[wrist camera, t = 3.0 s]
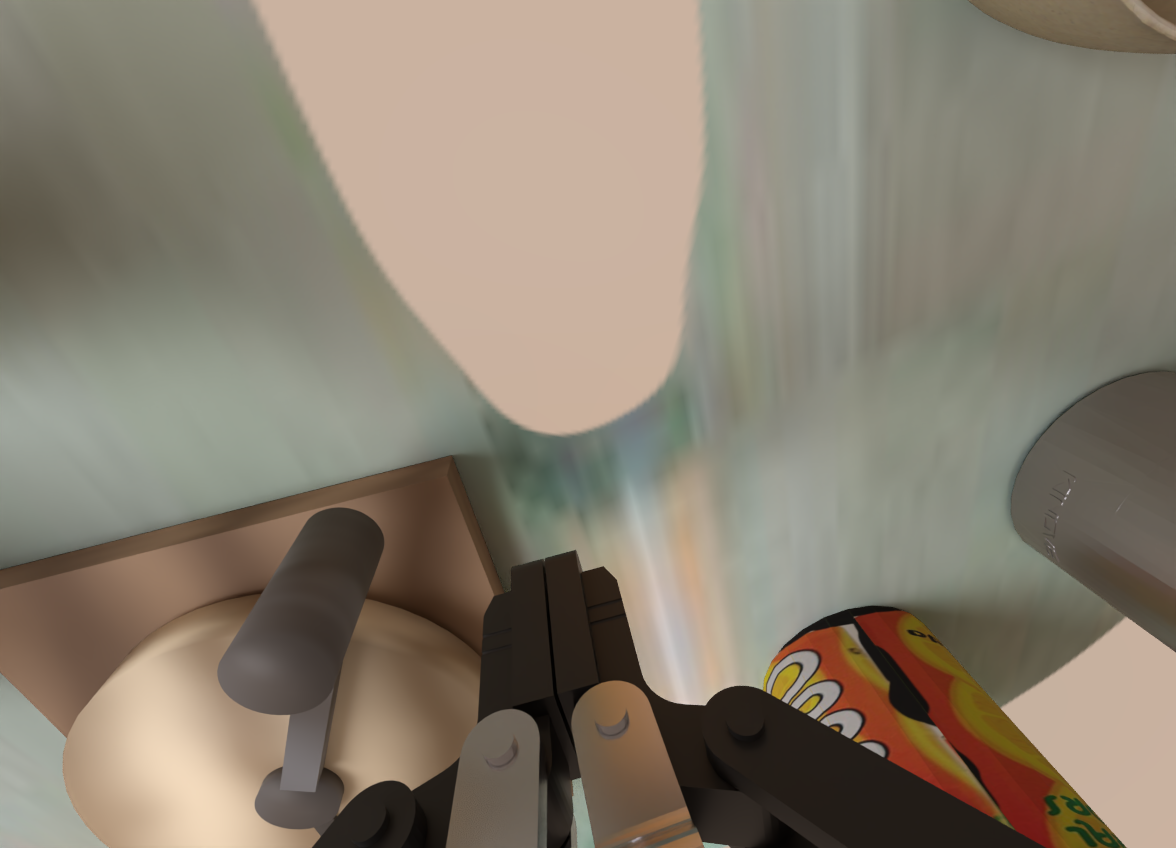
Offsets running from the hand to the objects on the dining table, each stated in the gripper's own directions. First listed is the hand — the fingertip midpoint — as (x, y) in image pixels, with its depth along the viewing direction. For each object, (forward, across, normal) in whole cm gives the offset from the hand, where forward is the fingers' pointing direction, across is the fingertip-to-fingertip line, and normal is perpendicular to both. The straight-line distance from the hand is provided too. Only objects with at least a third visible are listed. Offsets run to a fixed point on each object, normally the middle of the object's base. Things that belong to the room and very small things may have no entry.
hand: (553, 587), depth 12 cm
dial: (+7, +12, +9) cm, 16 cm away
